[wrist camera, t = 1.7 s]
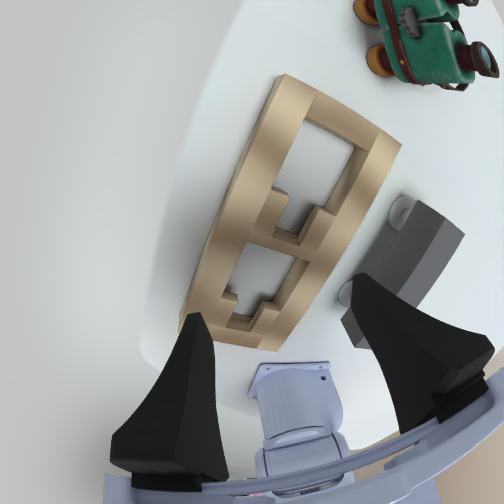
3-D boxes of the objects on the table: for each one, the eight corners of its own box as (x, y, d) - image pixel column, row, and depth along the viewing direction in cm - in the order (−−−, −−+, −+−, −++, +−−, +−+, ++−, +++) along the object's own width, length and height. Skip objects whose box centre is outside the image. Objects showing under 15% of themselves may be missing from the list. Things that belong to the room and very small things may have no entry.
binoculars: (533, 107, 8) (479, 95, 7) (440, 88, 17) (360, 86, 16) (511, -2, 3) (433, -58, 3) (421, 5, 12) (334, -14, 11)
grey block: (399, 188, 21) (450, 221, 15) (422, 203, 22) (469, 237, 16) (330, 301, 27) (356, 352, 21) (355, 307, 28) (383, 354, 22)
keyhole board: (277, 77, 16) (285, 73, 14) (386, 139, 19) (402, 144, 17) (179, 315, 25) (178, 332, 23) (273, 336, 28) (277, 351, 26)
